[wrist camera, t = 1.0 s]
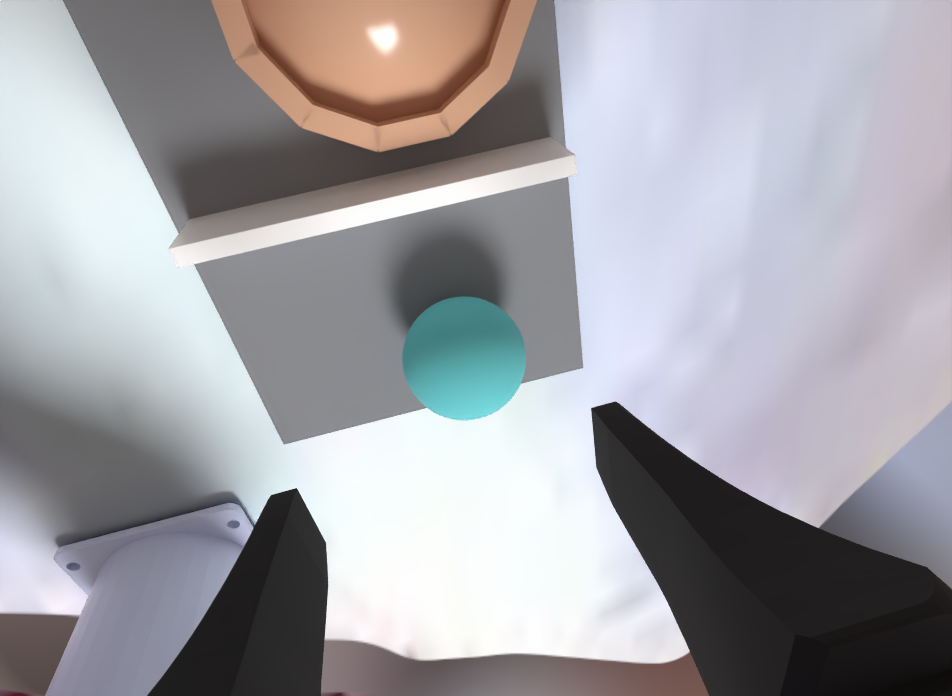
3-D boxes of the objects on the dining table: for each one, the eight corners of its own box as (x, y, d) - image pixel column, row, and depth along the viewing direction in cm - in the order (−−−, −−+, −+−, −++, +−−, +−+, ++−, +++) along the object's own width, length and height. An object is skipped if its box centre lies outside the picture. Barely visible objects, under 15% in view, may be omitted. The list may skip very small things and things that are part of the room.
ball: (516, 359, 23) (547, 427, 20) (412, 385, 23) (424, 459, 19) (501, 263, 21) (533, 321, 17) (384, 291, 20) (392, 356, 17)
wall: (551, 155, 19) (576, 174, 17) (197, 236, 18) (177, 268, 16) (549, 136, 19) (575, 154, 17) (189, 219, 18) (167, 248, 16)
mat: (579, 362, 24) (582, 367, 24) (284, 438, 24) (283, 444, 23) (529, -251, 14) (534, -257, 14) (-6, -153, 13) (-15, -157, 13)
